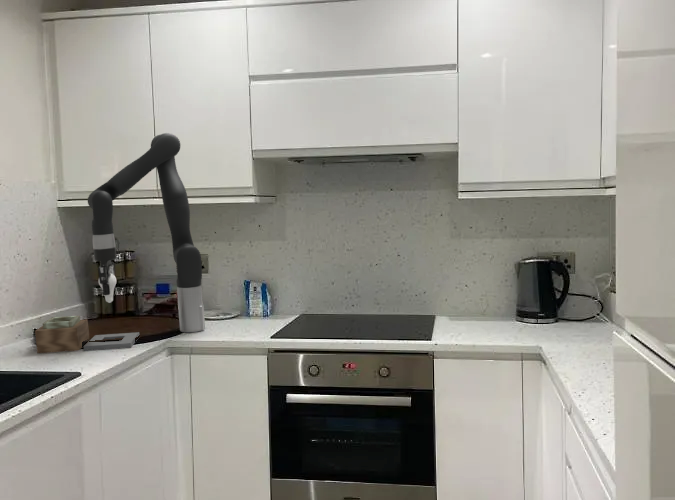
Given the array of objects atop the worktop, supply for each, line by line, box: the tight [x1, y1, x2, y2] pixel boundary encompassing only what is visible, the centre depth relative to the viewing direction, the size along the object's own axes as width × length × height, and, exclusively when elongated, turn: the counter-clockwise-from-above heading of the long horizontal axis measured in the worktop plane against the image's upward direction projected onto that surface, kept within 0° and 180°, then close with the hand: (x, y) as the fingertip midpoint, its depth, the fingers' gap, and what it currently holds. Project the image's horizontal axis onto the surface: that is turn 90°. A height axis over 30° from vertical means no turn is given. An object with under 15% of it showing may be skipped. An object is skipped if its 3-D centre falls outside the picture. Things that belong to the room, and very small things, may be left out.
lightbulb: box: [98, 272, 118, 304], centre depth 234 cm, size 6×6×11 cm
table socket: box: [83, 331, 140, 352], centre depth 236 cm, size 16×16×2 cm
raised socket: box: [34, 315, 90, 354], centre depth 234 cm, size 14×14×10 cm
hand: (108, 293), depth 234 cm, fingers closed on lightbulb, 5 cm apart
